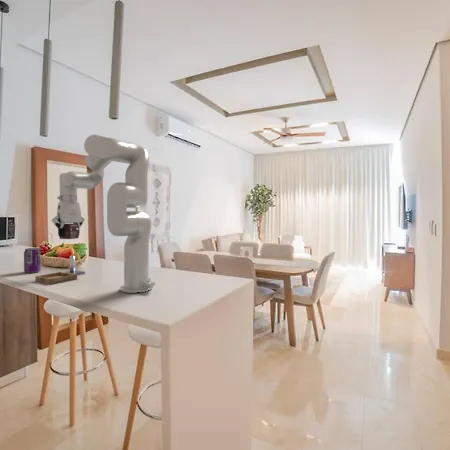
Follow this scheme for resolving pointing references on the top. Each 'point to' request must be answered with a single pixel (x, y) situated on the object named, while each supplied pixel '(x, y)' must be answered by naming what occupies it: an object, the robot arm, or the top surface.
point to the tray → (56, 278)
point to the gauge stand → (72, 267)
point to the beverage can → (32, 260)
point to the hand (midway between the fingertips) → (69, 235)
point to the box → (70, 231)
